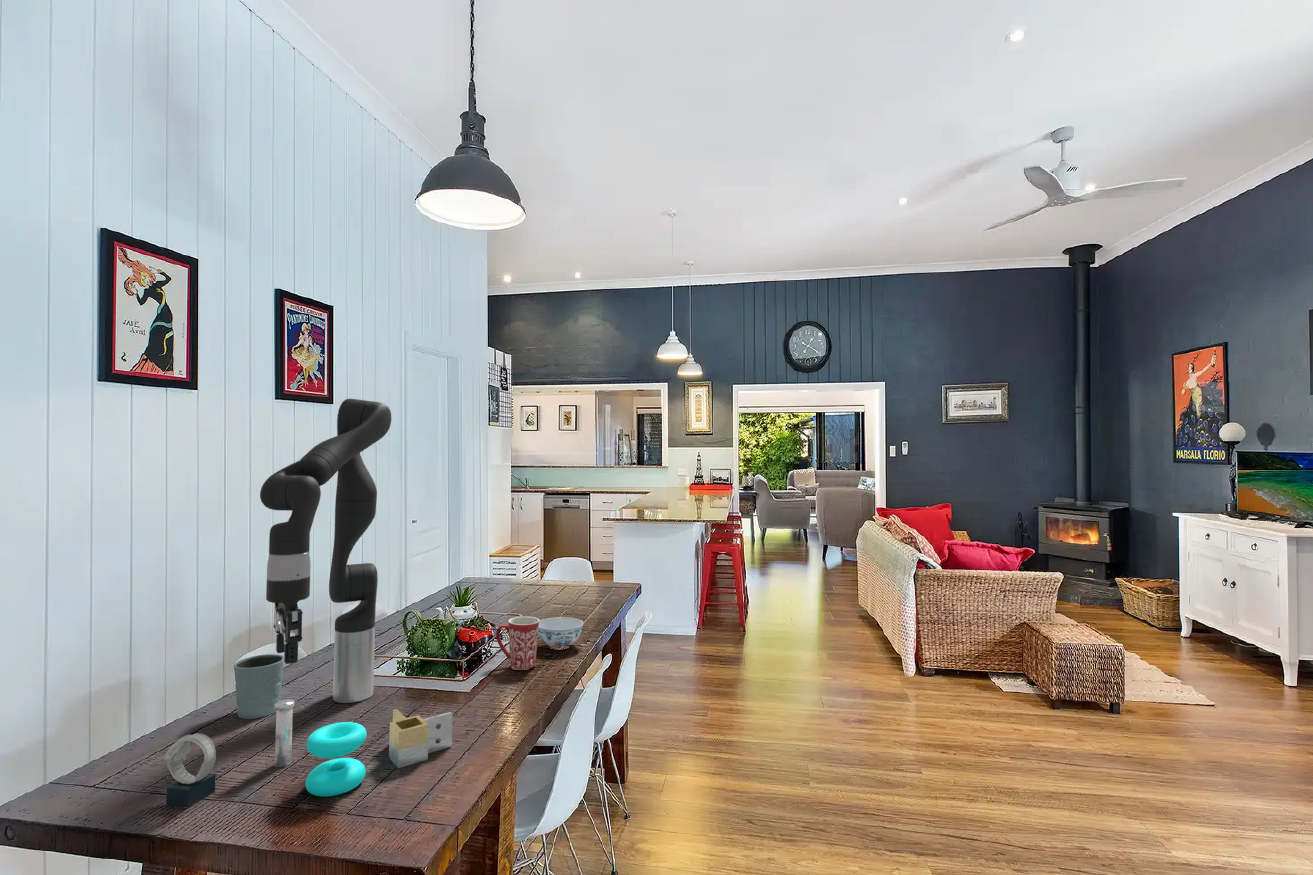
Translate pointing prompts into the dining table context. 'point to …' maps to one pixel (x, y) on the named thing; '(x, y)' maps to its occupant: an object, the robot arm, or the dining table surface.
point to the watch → (188, 785)
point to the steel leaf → (436, 741)
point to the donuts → (340, 771)
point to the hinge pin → (283, 732)
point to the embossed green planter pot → (258, 685)
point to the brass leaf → (407, 730)
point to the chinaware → (559, 630)
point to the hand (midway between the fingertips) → (286, 657)
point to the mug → (520, 641)
